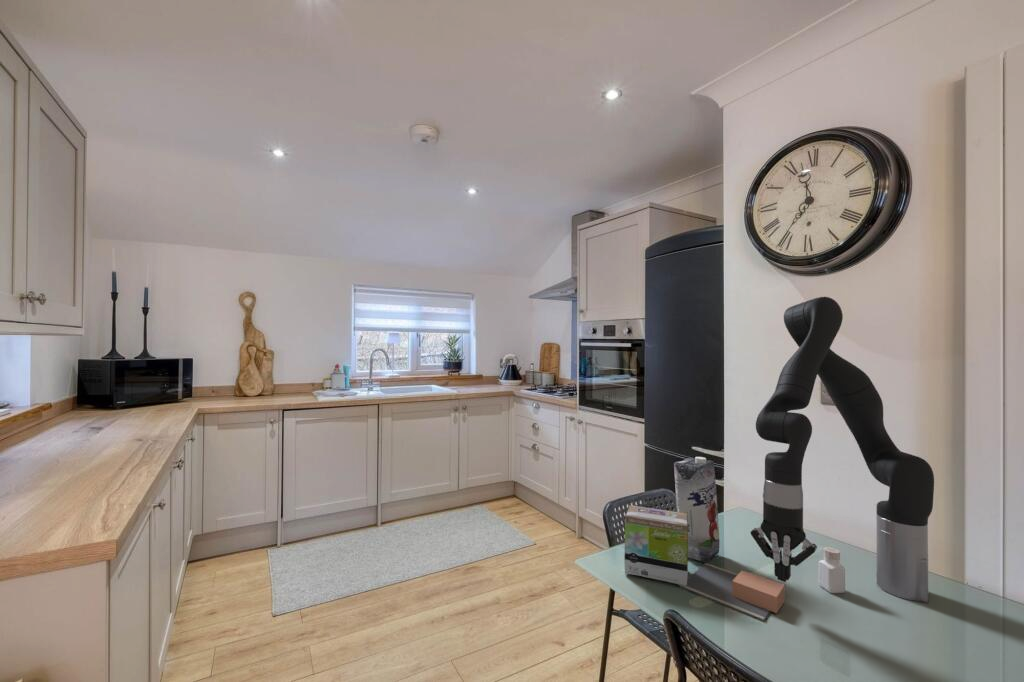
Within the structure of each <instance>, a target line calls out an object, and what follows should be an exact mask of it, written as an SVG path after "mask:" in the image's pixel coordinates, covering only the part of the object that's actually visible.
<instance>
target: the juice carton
mask: <svg viewBox="0 0 1024 682" xmlns="http://www.w3.org/2000/svg"><path fill="white" fill-rule="evenodd" d="M673 468H674V485H675V504H676V506H675V507H676V512H680V513H687V521H688V559H692V560H696V561H699V562H703V563H708V562H709V561H710V560H711V559H712V558H713V557H716V556H717V555H718V554H719V552H720V544H721V543H720V542H721V541H720V530H719V528H720V527H719V513H718V512H719V511H718V497H717V485H716V483H717V482H716V472H715V471H716V470H715V461H714V460H709V459H708V460H707V458H706V457H704V456H695V458H693V457H692V458H691V457H687V458H685V459H684V460H681V461H674V463H673Z"/></svg>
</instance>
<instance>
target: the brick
mask: <svg viewBox="0 0 1024 682" xmlns="http://www.w3.org/2000/svg"><path fill="white" fill-rule="evenodd" d="M737 574H738V575H737V576H736V577H735V578H734V580H733V581H732V596H733V597H736V598H738V599H741V600H743V601H746V602H749V603H751V604H754V605H756V606H759V607H761V608H764V609H767V610H769V611H770V612H772V613H775V614H778V612H779V610H780V609H781V607H782V606H783V604H784V603H785V600H786V594H785V593H786V588H785V587H786V585H785V584H783V583H780V582H777V581H775V580H772V579H769V578H766V577H763V576H759V575H758V574H755V573H751V572H748V571H745V570H741V571H740V572H739V573H737Z"/></svg>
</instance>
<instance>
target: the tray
mask: <svg viewBox="0 0 1024 682" xmlns="http://www.w3.org/2000/svg"><path fill="white" fill-rule="evenodd" d="M703 563H704V564H703V565H701V567H699V568H698V569H697V570H696V571H695V572H693V574H691V575H690V576H689V577H687V585H686V586H683V585H679V588H681V589H683V590H686V591H688V592H690V593H693V594H696V595H698V596H700V597H703V598H705V599H708V600H710V601H712V602H715V603H717V604H720V605H722V606H725V607H727V608H730V609H732V610H734V611H736V612H740V613H742V614H744V615H747V616H749V617H752V618H754V619H757V620H759V621H761V622H765V620H766V618H767V617H768V616H769V614H770V613H771V611H769V610H767V609H764V608H761V607H759V606H756V605H754V604H751V603H749V602H746V601H743V600H741V599H738V598H736V597H733V596H732V581H733V580H734V578H735V577H736V576H737V575H738V574H739V573H735V572H734V571H733V572H732V571H730V570H727V569H725V568H721V567H718V566H716V565H713V564H710V563H708V562H703Z"/></svg>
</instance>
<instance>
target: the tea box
mask: <svg viewBox="0 0 1024 682" xmlns="http://www.w3.org/2000/svg"><path fill="white" fill-rule="evenodd" d="M628 506H629V507H628V509H627V512H626V513H625V514H626V515H625V517H624V518H625V519H624V522H625V523H624V559H623V560H624V574H625V575H634V576H639V577H640V576H641V577H643V578H648V579H653V580H658V581H661V582H662V581H663V582H665V583H666V582H667V583H671V584H676V585H679V586H680V585H683V586H686V585H687V579H688V576H689V575H688V573H689V572H688V571H689V570H688V569H689V567H688V564H689V563H688V562H689V558H688V521H687V513H680V512H677V511H674V510H665V509H659V508H653V507H652V508H650V507H646V506H645V507H644V506H640V505H639V506H638V505H633V504H632V505H631V504H629V505H628Z"/></svg>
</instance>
